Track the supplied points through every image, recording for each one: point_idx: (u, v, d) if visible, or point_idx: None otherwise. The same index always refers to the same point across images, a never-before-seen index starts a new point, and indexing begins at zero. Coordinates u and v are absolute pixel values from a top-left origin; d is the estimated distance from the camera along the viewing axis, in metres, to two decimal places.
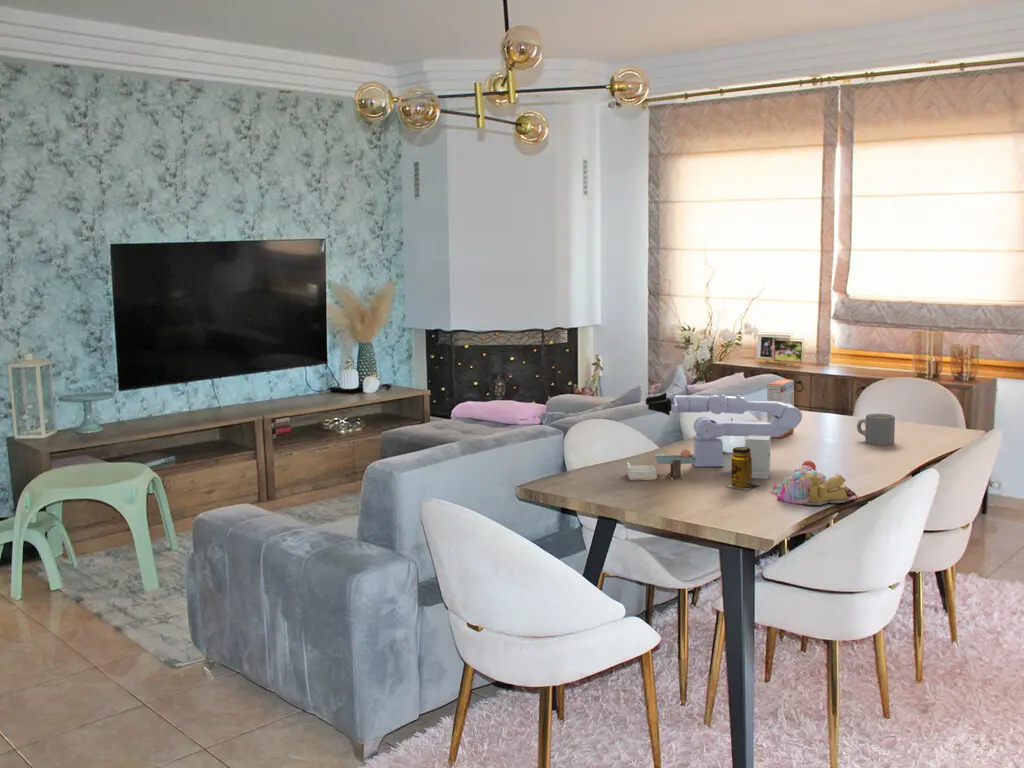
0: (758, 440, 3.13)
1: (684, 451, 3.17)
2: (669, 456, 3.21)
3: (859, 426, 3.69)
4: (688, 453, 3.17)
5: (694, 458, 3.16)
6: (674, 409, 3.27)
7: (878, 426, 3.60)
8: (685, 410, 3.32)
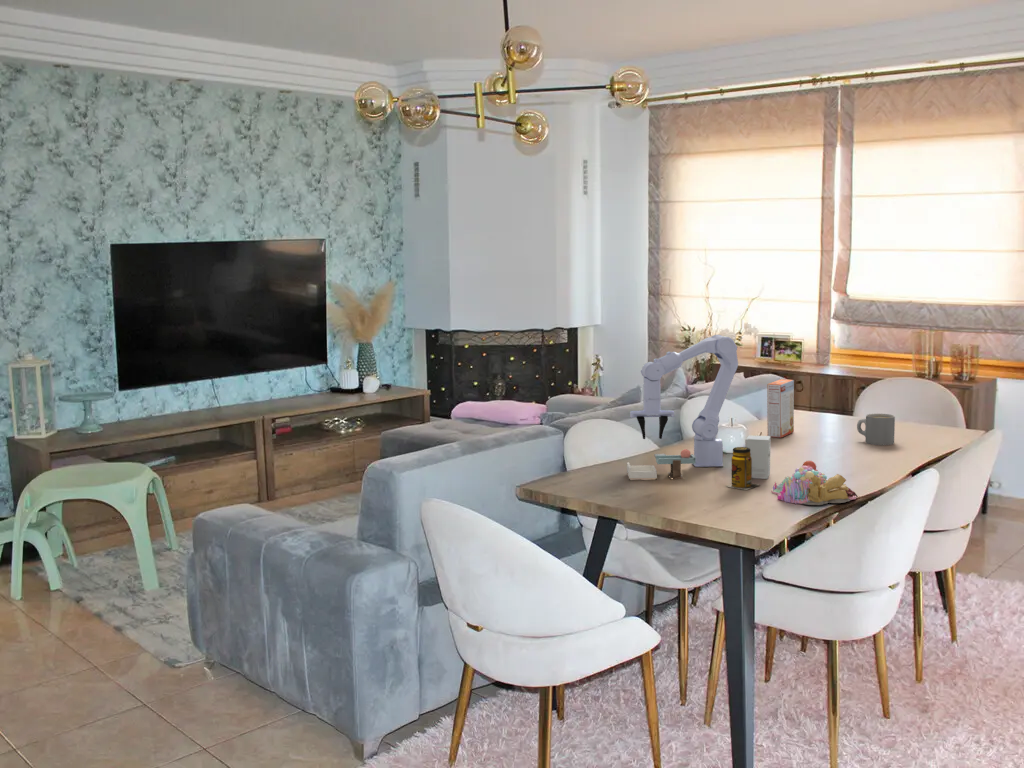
0: (758, 440, 3.13)
1: (684, 451, 3.17)
2: (669, 456, 3.21)
3: (859, 426, 3.69)
4: (688, 453, 3.17)
5: (694, 458, 3.16)
6: None
7: (878, 426, 3.60)
8: None
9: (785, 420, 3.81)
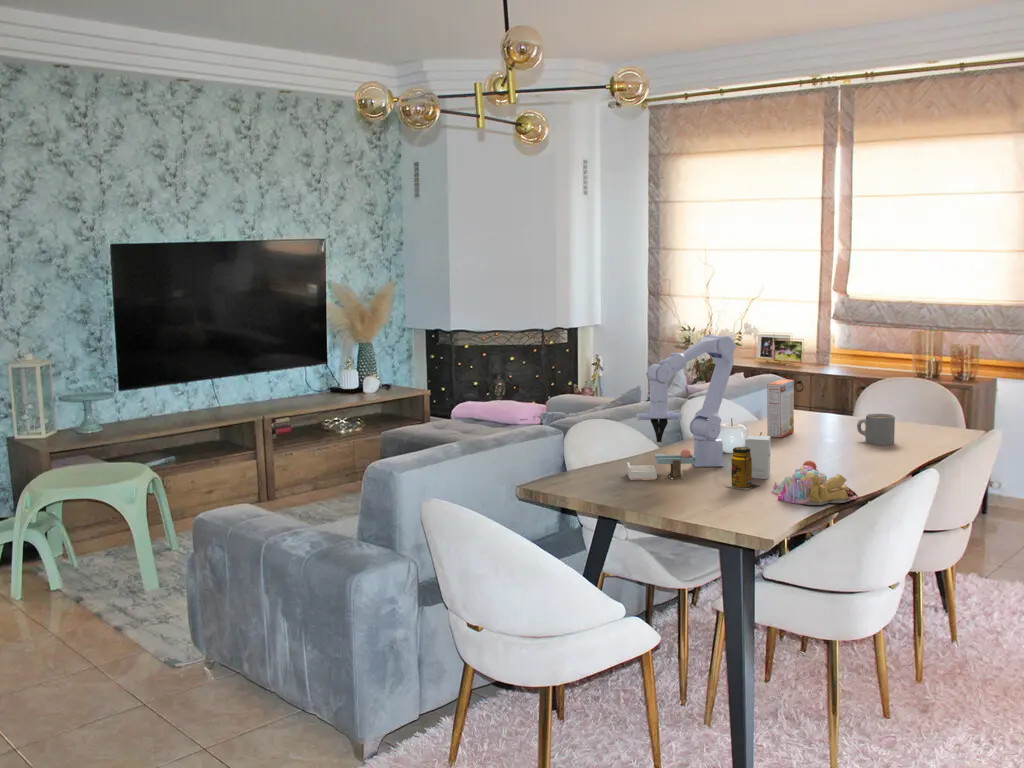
0: (758, 440, 3.13)
1: (684, 451, 3.17)
2: (669, 456, 3.21)
3: (859, 426, 3.69)
4: (688, 453, 3.17)
5: (694, 458, 3.16)
6: None
7: (878, 426, 3.60)
8: None
9: (785, 420, 3.81)
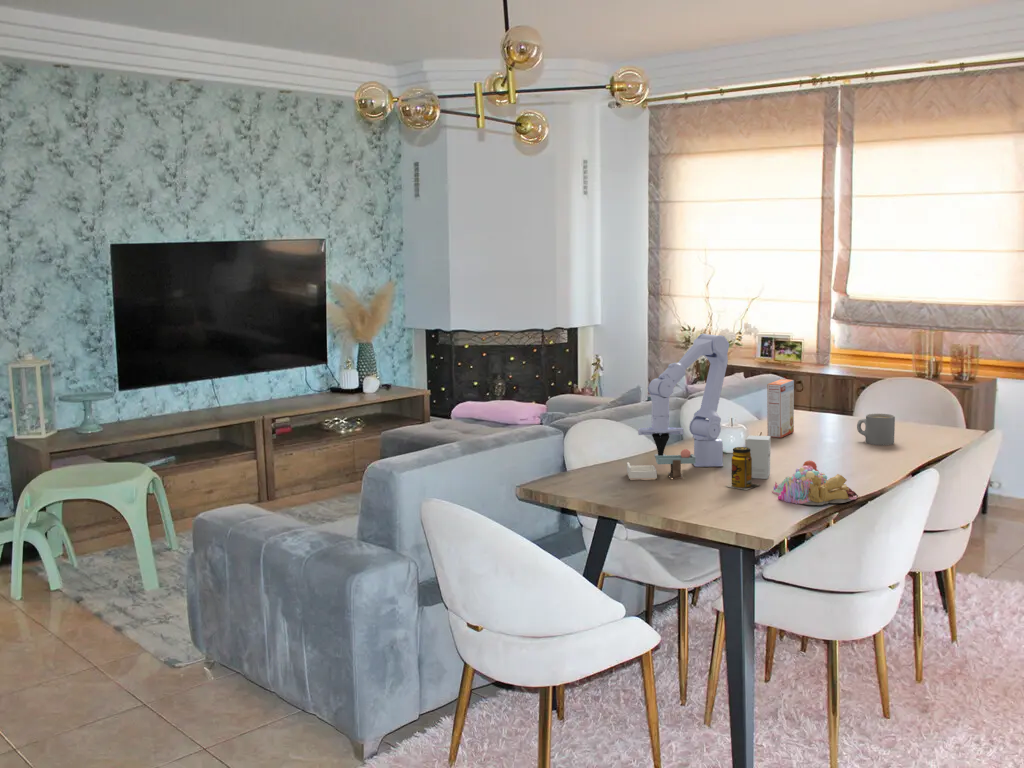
0: (758, 440, 3.13)
1: (684, 451, 3.17)
2: (669, 456, 3.21)
3: (859, 426, 3.69)
4: (688, 453, 3.17)
5: (694, 458, 3.16)
6: None
7: (878, 426, 3.60)
8: None
9: (785, 420, 3.81)
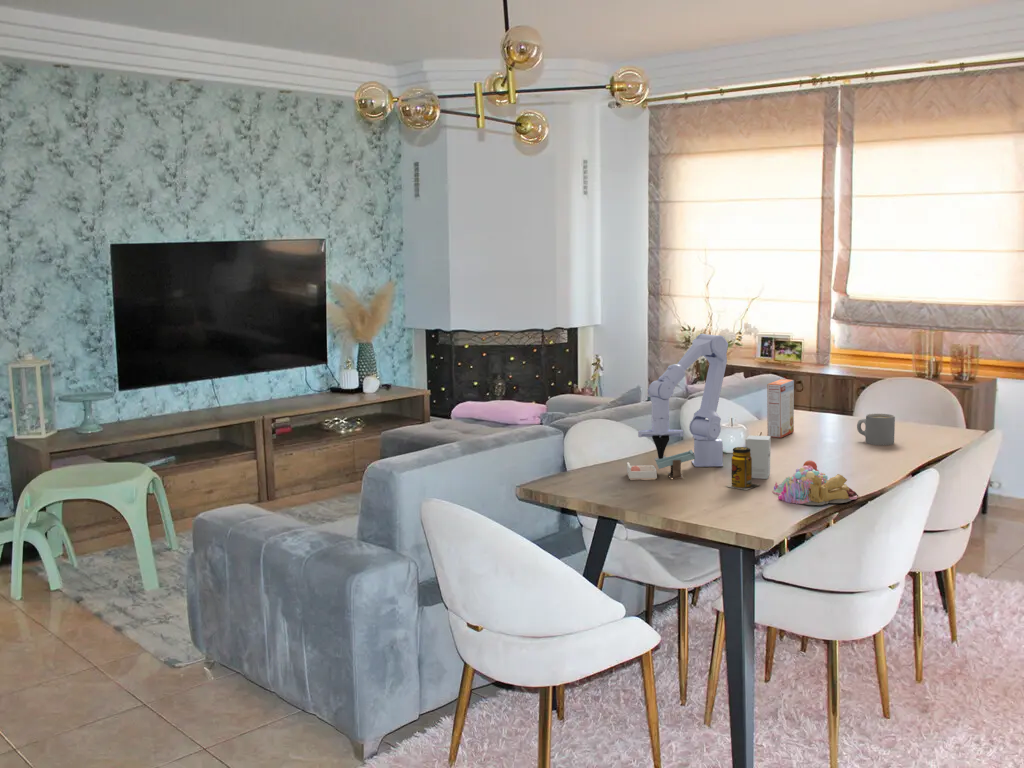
0: (758, 440, 3.13)
1: None
2: (668, 457, 3.21)
3: (859, 426, 3.69)
4: None
5: (692, 454, 3.16)
6: None
7: (878, 426, 3.60)
8: None
9: (785, 420, 3.81)
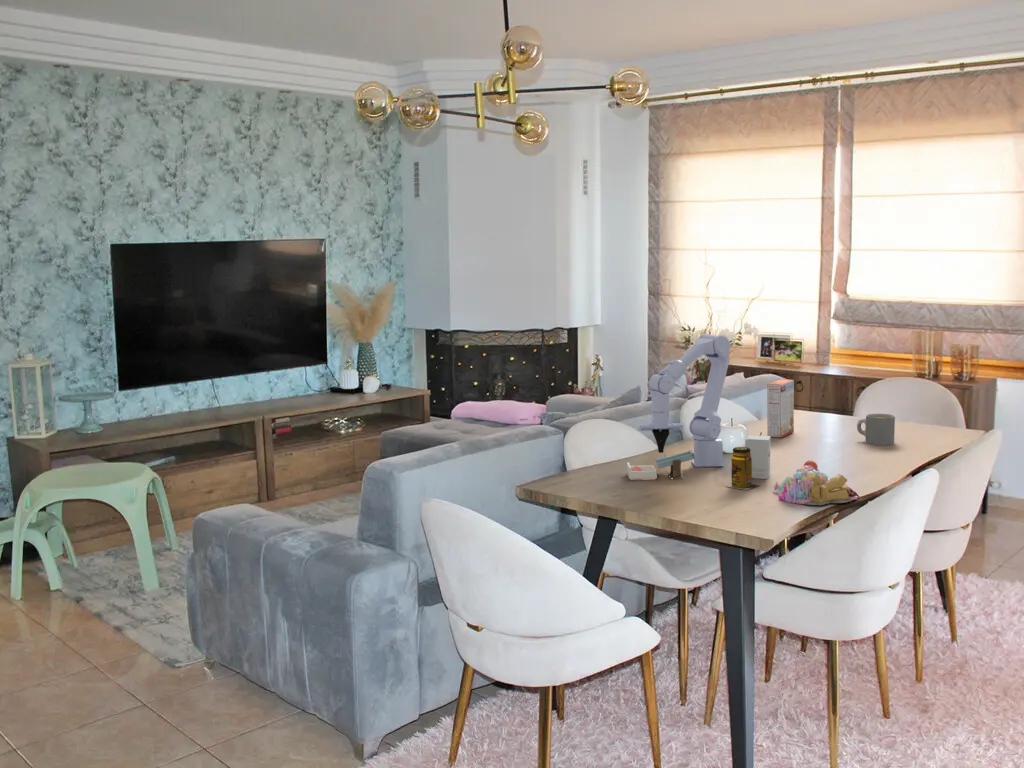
0: (758, 440, 3.13)
1: None
2: (668, 457, 3.21)
3: (859, 426, 3.69)
4: None
5: (692, 454, 3.16)
6: None
7: (878, 426, 3.60)
8: None
9: (785, 420, 3.81)
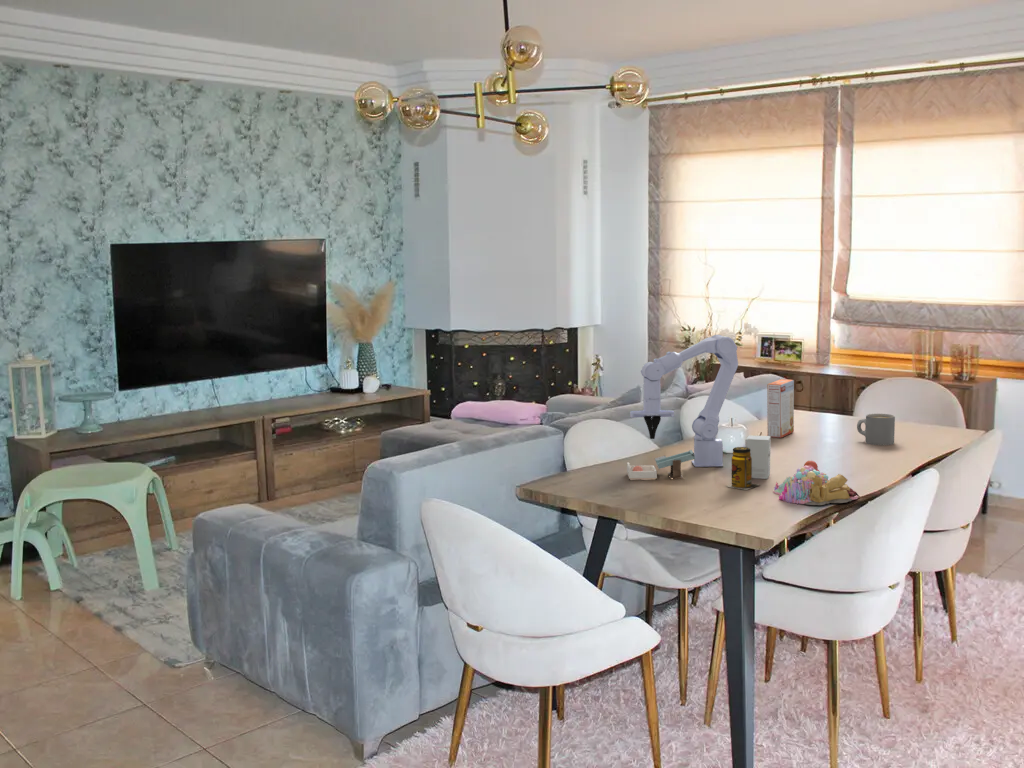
0: (758, 440, 3.13)
1: None
2: (668, 457, 3.21)
3: (859, 426, 3.69)
4: None
5: (692, 454, 3.16)
6: None
7: (878, 426, 3.60)
8: None
9: (785, 420, 3.81)
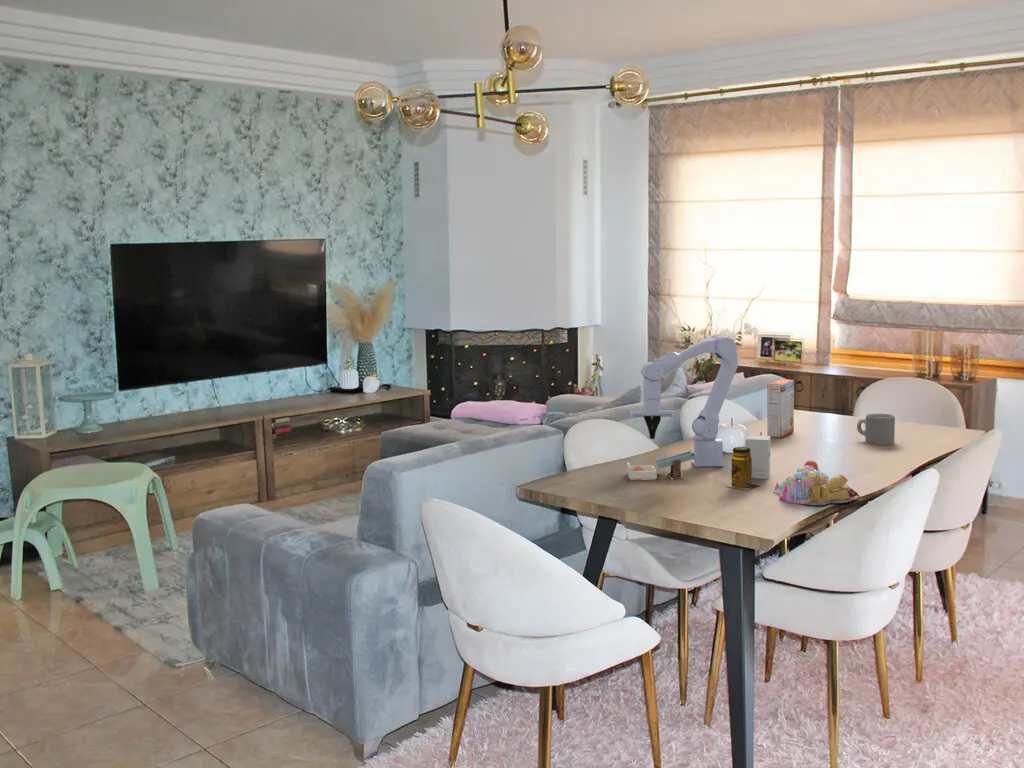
0: (758, 440, 3.13)
1: None
2: (668, 457, 3.21)
3: (859, 426, 3.69)
4: None
5: (692, 454, 3.16)
6: None
7: (878, 426, 3.60)
8: None
9: (785, 420, 3.81)
